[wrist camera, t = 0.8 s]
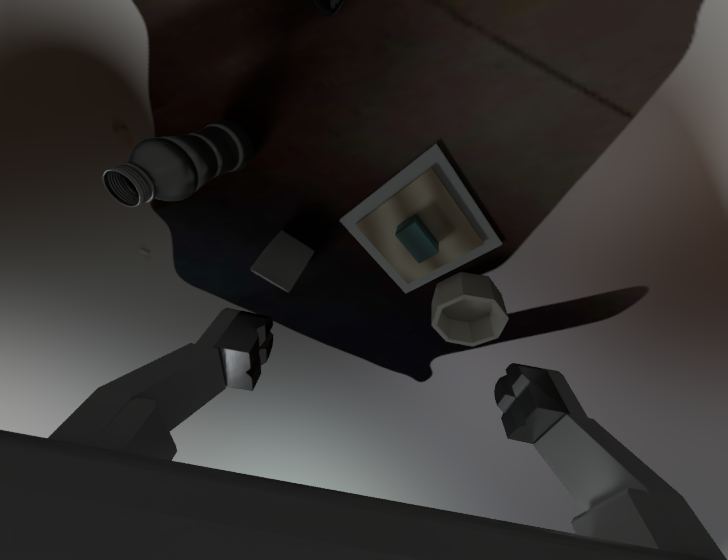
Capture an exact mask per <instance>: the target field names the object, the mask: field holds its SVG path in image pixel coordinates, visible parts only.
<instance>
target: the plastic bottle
mask: <svg viewBox="0 0 728 560" xmlns="http://www.w3.org/2000/svg"><path fill="white" fill-rule="evenodd" d="M253 153H254V147H253V142H252V139H251V137H250V135H249V133H248V132H247V131H246V129H245V128H244V127H243V126H241V125H240V124H239V123H237V122H235V121H231V120H216V121H214V122H212V123H210V124H209V125H207V126H206V127H205V128H203V129H201V130H199V131H196V132H194V133H191V134H186V135H181V136H172V137H155V138H149V139H144V140H143V141H141V142H140V143H138V144H137V145H136V146H135V147H134V148H133V149H132V152H131V154H130V156H129V159H128V162H123V163H120V164H118V165H117V166H115V167H112V168H109V169H107V170H105V171H104V172H103V175H102V180H103V184H104V186H105V188H106V190H107V191H108V193H109V194H110V195H111V196H112V197H113V198H114V199H115V200H116V201H117V202H119V203H121V204H122V205H124V206H127V207H137V206H139V205H141V204H143V203H147V202H150V201H152V200H153V199H155V198H156V199H159V200H165V201H178V200H183V199H186V198H187V197H189V196H190V195H192V194H193V193H194V192H195V191H197V190H198V189H199V188H200V187H201V186H202V185H204V184H205V183H206V182H208V181H210V180H211V179H213V178H214V177H216V176H218V175H221V174H224V173H227V172H232V171H237V170H240V169H243V168H244V167H245V166H246V165H247V164H248V163H249V162H250V161H251V159H252V157H253Z"/></svg>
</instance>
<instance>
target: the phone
mask: <svg viewBox="0 0 728 560" xmlns="http://www.w3.org/2000/svg"><path fill="white" fill-rule="evenodd" d="M312 1H313V2H314V4H315V5H316V6H317V8H318V9H319V10H320V12H321V13H322V14H324V15H326V16H328V17H332V16H334V15H335V14H336V13H337V12H338V10H339V9H340V7H341V6H342V4H343V3H344V1H345V0H312Z"/></svg>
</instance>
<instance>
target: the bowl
mask: <svg viewBox="0 0 728 560" xmlns="http://www.w3.org/2000/svg"><path fill="white" fill-rule="evenodd" d="M508 319H509V318H508V315H507V312H506V308H505V305H504V301H503V298H502V295H501V293H500V292H499V290H498V289H497V287H496V286H495V285H494V283H493V282H492V281H491V279H490V278H489V277H488V276H483V275H477V274H471V273H464V272H459V273H457V274H455V275H453V276H451V277H449V278H447V279H445V280H443V281H441V282H439V283H437V286H436V289H435V293H434V296H433V300H432V326H433V328H434V329H435V330H436V331H437V332H438V333H439V334H440V335H441V336H442V337H443V338H444V340H445V341H447V342H452V343H457V344H462V345H468V346H475V345H478V344H481V343H484V342H487V341H490V340H493V339H496V338H498V337H499V336H500V334H501V332H502V330H503V328H504V326H505V324H506V323H507V321H508Z"/></svg>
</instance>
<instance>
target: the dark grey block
mask: <svg viewBox="0 0 728 560" xmlns="http://www.w3.org/2000/svg"><path fill="white" fill-rule="evenodd" d="M314 252H315V251H314V250H312V249H311V248H309V247H308V246H306V245H304V244H303V243H301V242H300V241H298V240H297V239H295V238H293V237H292V236H290V235H289V234H287V233H286V232H284V231H283V230H282V231H281V232H280V233H279V234H278V235H277V236H276V237H275V238H274V239H273V240H272V242H271V243H270V244H269V245H268V246H267V247H266V248H265V250H264V251H263V252H262V254H261V255H260V256H259V258H258V259H257V260H256V262H255V263H254V264H253V266H252V267H251V268H250V270H251V271H252V272H254V273H256V274H257V275H259V276H261V277H262V278H264V279H266V280H268V281H269V282H271V283H273V284H274V285H276V286H278V287H279V288H281V289H283V290H284V291H286V292H288V293H289V291H290V290H291V288H292V287H293V285H294V283H295V282H296V280H297V279H298V277H299V276H300V274H301V273H302V271H303V269H304V268H305V266H306V265H307V263H308V261H309V260H310V258H311V257H312V255H313V253H314Z"/></svg>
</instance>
